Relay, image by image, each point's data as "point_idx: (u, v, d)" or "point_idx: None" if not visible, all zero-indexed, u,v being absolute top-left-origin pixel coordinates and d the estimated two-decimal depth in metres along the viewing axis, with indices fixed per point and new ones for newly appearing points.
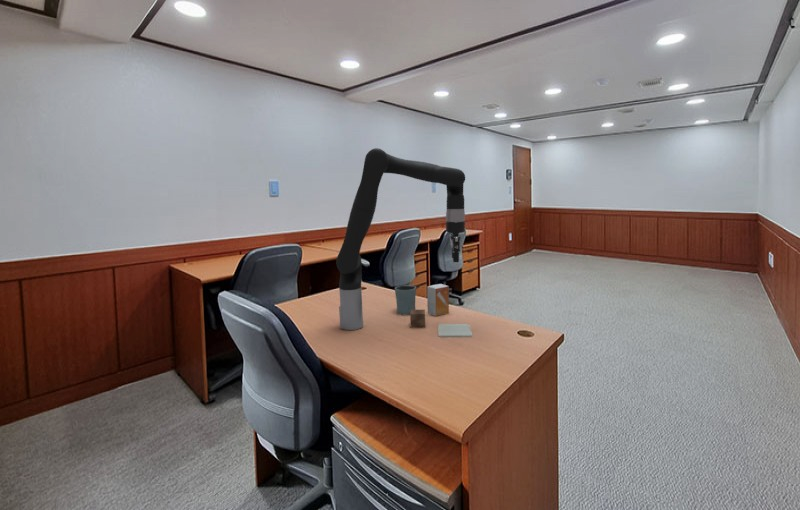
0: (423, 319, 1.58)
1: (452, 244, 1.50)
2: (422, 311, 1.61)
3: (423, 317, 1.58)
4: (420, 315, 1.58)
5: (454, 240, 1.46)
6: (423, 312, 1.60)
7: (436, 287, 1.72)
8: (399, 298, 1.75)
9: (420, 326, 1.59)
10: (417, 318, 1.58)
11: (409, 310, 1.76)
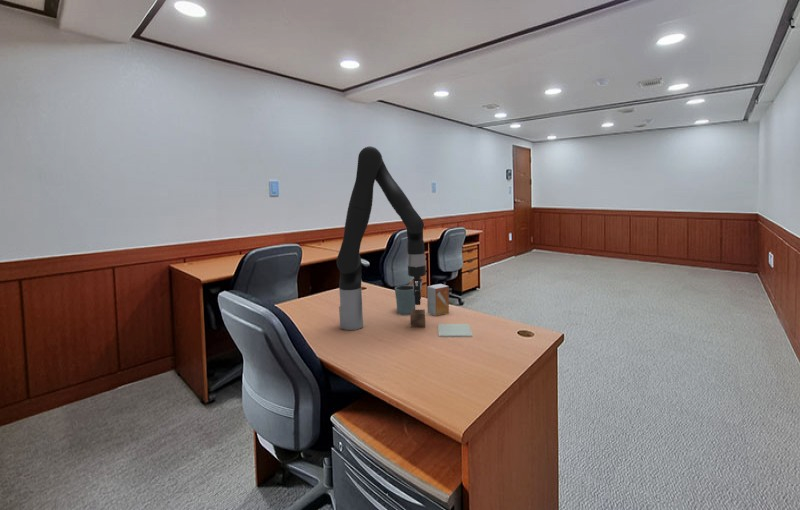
0: (423, 319, 1.58)
1: (413, 288, 1.56)
2: (422, 311, 1.61)
3: (423, 317, 1.58)
4: (420, 315, 1.58)
5: (414, 285, 1.52)
6: (423, 312, 1.60)
7: (436, 287, 1.72)
8: (399, 298, 1.75)
9: (420, 326, 1.59)
10: (417, 318, 1.58)
11: (409, 310, 1.76)
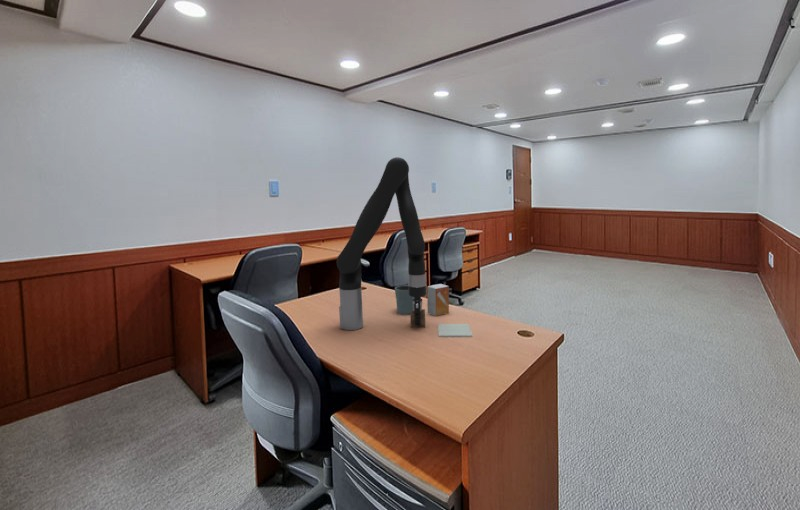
0: (423, 319, 1.58)
1: (414, 308, 1.58)
2: (422, 311, 1.61)
3: (423, 317, 1.58)
4: None
5: (415, 307, 1.54)
6: (423, 312, 1.60)
7: (436, 287, 1.72)
8: (399, 298, 1.75)
9: (420, 326, 1.59)
10: None
11: (409, 310, 1.76)
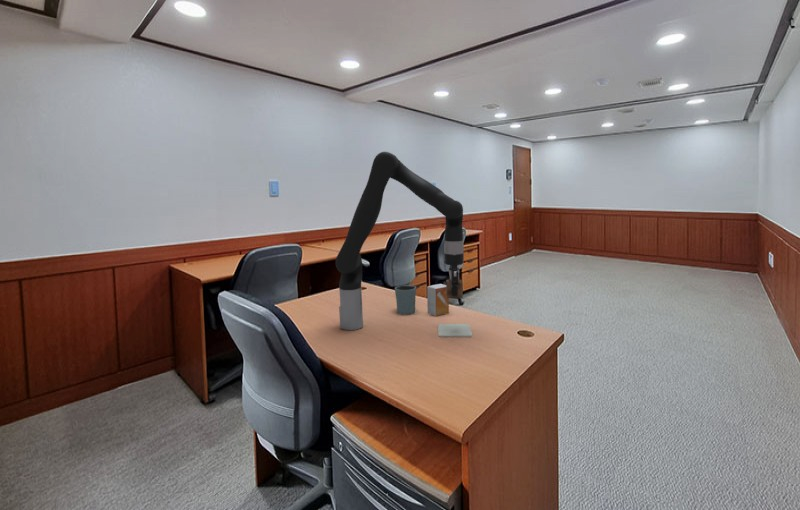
0: (461, 289, 1.48)
1: (451, 277, 1.47)
2: (459, 281, 1.51)
3: (461, 287, 1.48)
4: None
5: (453, 275, 1.43)
6: (460, 282, 1.49)
7: (436, 287, 1.72)
8: (399, 298, 1.75)
9: (457, 296, 1.48)
10: None
11: (409, 310, 1.76)
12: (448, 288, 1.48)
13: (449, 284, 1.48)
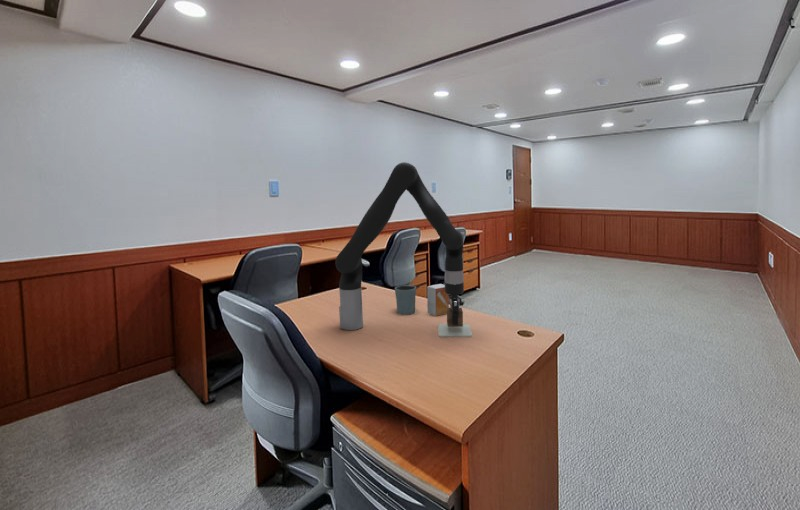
0: (461, 317, 1.50)
1: (451, 306, 1.49)
2: (459, 309, 1.52)
3: (461, 315, 1.49)
4: None
5: (453, 305, 1.45)
6: (460, 310, 1.51)
7: (436, 287, 1.72)
8: (399, 298, 1.75)
9: (458, 325, 1.50)
10: None
11: (409, 310, 1.76)
12: (448, 317, 1.50)
13: (449, 313, 1.50)
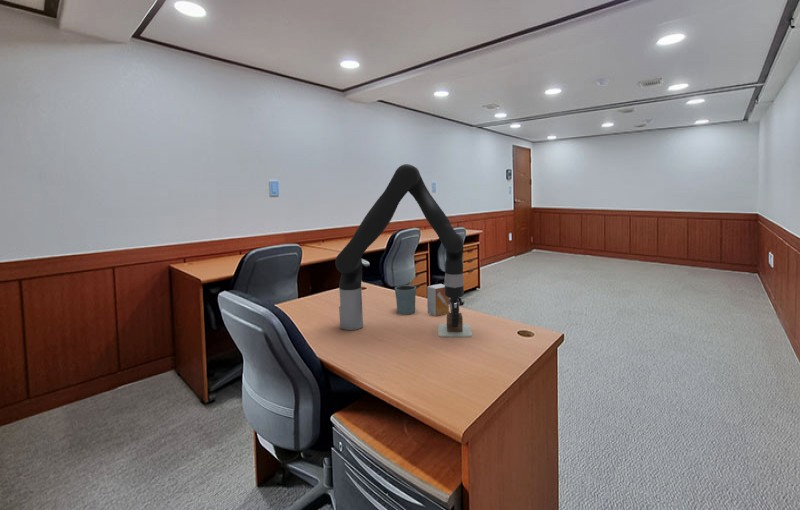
0: (461, 323, 1.50)
1: (451, 309, 1.49)
2: (459, 314, 1.53)
3: (461, 321, 1.50)
4: (458, 319, 1.50)
5: (453, 306, 1.45)
6: (460, 316, 1.52)
7: (436, 287, 1.72)
8: (399, 298, 1.75)
9: (457, 330, 1.51)
10: None
11: (409, 310, 1.76)
12: (448, 322, 1.50)
13: (449, 318, 1.50)
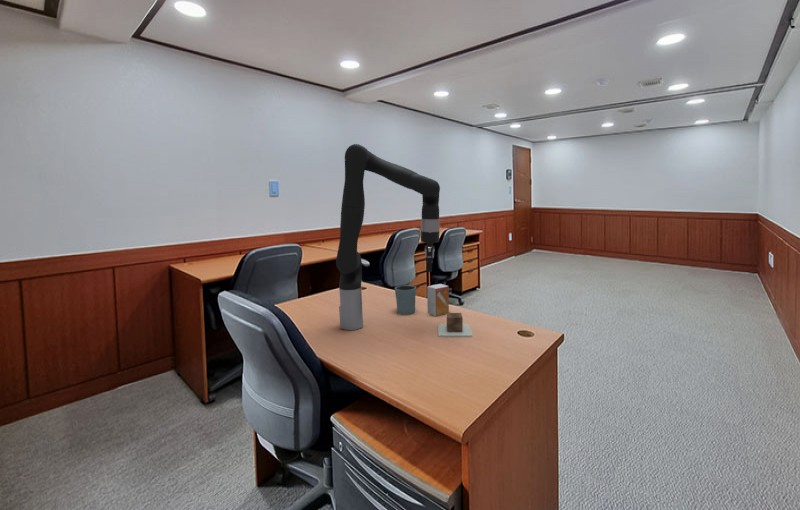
0: (461, 323, 1.50)
1: (426, 254, 1.51)
2: (459, 314, 1.53)
3: (461, 321, 1.50)
4: (458, 319, 1.50)
5: (427, 250, 1.47)
6: (460, 316, 1.52)
7: (436, 287, 1.72)
8: (399, 298, 1.75)
9: (457, 330, 1.51)
10: (454, 322, 1.50)
11: (409, 310, 1.76)
12: (448, 322, 1.50)
13: (449, 318, 1.50)
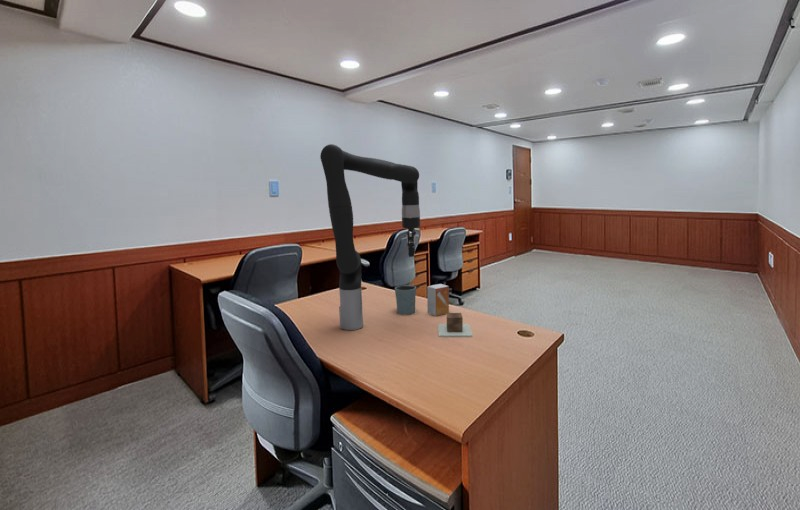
0: (461, 323, 1.50)
1: (407, 239, 1.55)
2: (459, 314, 1.53)
3: (461, 321, 1.50)
4: (458, 319, 1.50)
5: (408, 235, 1.51)
6: (460, 316, 1.52)
7: (436, 287, 1.72)
8: (399, 298, 1.75)
9: (457, 330, 1.51)
10: (454, 322, 1.50)
11: (409, 310, 1.76)
12: (448, 322, 1.50)
13: (449, 318, 1.50)
